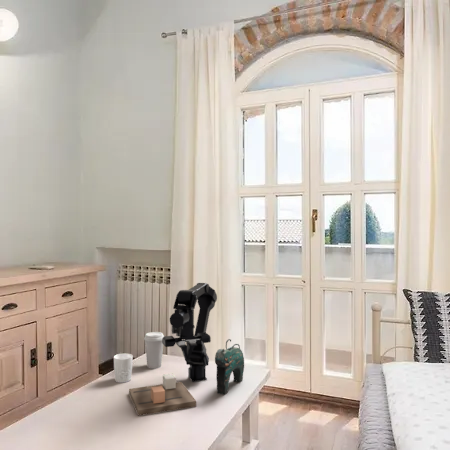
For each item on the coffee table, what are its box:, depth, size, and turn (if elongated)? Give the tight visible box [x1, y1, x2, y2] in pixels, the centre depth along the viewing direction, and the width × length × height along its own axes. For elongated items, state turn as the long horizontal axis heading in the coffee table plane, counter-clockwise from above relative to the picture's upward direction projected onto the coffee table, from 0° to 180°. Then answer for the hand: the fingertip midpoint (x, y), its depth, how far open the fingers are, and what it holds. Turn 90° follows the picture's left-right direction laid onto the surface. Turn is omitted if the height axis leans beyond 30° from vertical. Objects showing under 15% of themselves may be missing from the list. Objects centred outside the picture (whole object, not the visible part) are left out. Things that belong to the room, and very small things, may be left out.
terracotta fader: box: [151, 386, 165, 404], centre depth 152 cm, size 4×5×4 cm
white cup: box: [113, 353, 134, 384], centre depth 177 cm, size 8×8×10 cm
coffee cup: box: [143, 331, 165, 370], centre depth 194 cm, size 10×10×15 cm
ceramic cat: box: [214, 338, 245, 396], centre depth 170 cm, size 20×6×20 cm, turn 152°
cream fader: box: [162, 373, 177, 389], centre depth 164 cm, size 4×5×4 cm
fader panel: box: [128, 381, 197, 417], centre depth 157 cm, size 21×20×2 cm
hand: (186, 360), depth 167 cm, fingers closed
